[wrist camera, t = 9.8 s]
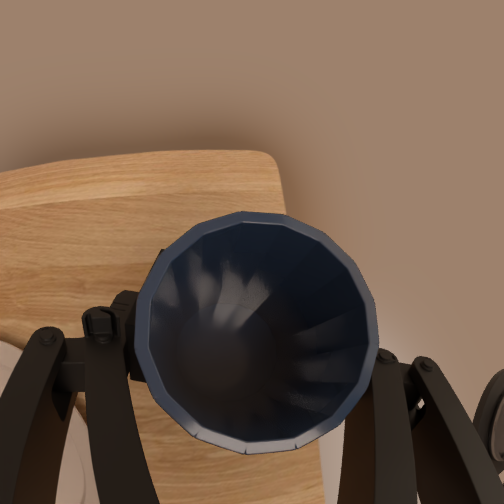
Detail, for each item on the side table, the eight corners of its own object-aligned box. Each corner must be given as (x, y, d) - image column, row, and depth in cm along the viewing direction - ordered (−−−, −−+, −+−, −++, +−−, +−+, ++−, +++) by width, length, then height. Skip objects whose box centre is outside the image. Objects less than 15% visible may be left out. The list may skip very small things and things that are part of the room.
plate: (-34, 497, 10) (-42, 500, 8) (-54, 324, 20) (-63, 321, 18) (130, 560, 15) (127, 568, 13) (104, 358, 25) (98, 357, 23)
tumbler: (281, 403, 17) (383, 431, 7) (171, 404, 15) (135, 452, 6) (277, 300, 19) (361, 221, 9) (172, 297, 18) (147, 205, 8)
